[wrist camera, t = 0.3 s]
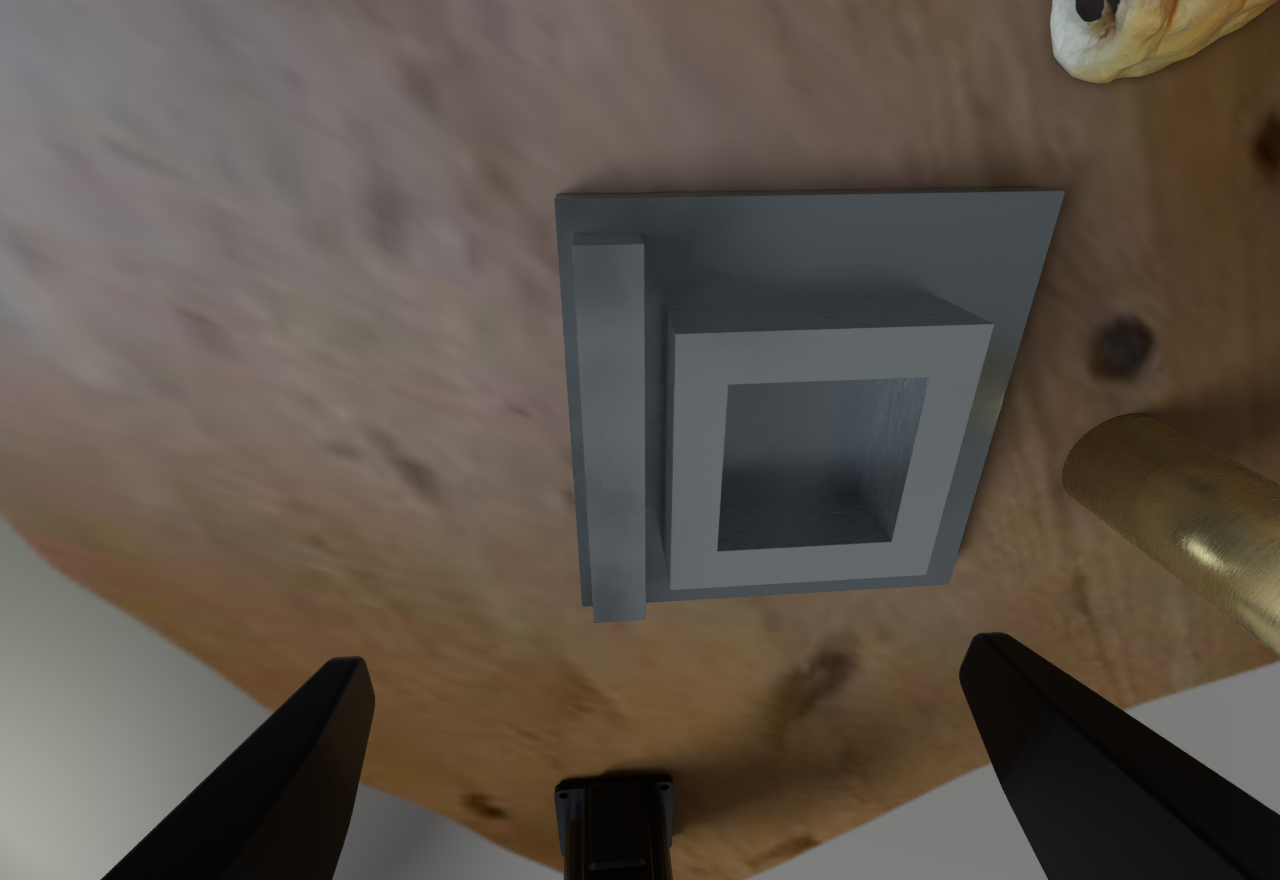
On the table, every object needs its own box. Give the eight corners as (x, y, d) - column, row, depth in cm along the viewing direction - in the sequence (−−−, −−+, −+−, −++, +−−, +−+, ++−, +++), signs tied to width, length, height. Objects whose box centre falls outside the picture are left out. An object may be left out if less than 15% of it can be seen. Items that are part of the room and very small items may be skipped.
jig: (931, 562, 28) (988, 635, 24) (582, 582, 27) (581, 662, 23) (1034, 186, 20) (1143, 201, 16) (556, 194, 19) (548, 212, 15)
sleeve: (1142, 501, 27) (1551, 778, 16) (1049, 506, 27) (1395, 792, 15) (1182, 412, 25) (1687, 656, 14) (1082, 416, 25) (1510, 669, 13)
